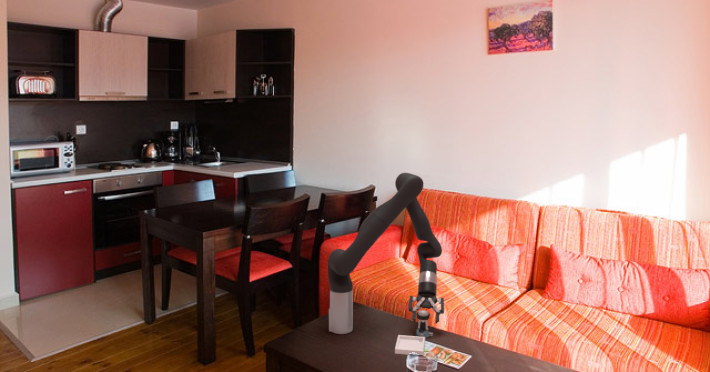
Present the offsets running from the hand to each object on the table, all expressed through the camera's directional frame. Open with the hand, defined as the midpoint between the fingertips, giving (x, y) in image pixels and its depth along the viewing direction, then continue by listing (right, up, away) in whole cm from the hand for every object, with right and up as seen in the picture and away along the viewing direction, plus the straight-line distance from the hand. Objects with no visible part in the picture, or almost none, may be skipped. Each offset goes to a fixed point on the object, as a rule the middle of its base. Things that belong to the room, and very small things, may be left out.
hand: (425, 322), depth 213 cm
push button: (0, -6, +1) cm, 6 cm away
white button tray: (-7, -7, -9) cm, 14 cm away
